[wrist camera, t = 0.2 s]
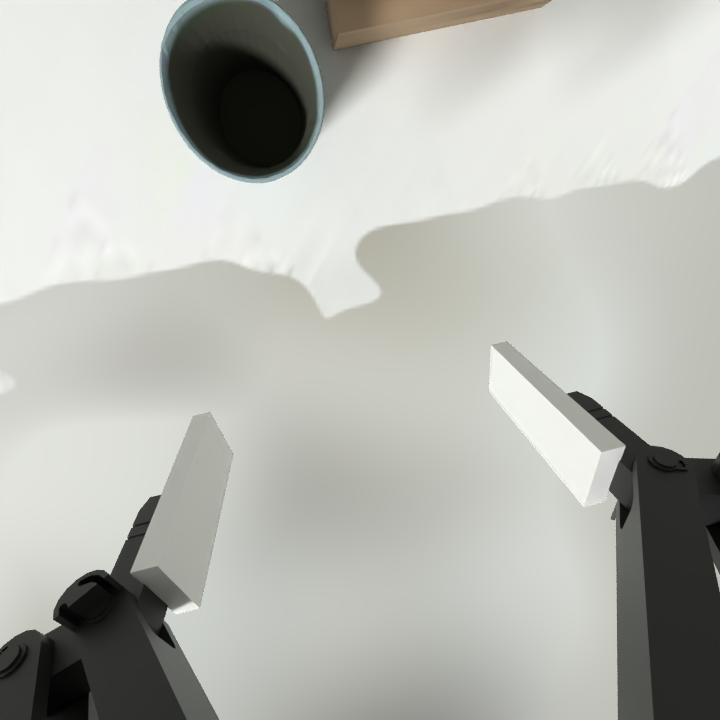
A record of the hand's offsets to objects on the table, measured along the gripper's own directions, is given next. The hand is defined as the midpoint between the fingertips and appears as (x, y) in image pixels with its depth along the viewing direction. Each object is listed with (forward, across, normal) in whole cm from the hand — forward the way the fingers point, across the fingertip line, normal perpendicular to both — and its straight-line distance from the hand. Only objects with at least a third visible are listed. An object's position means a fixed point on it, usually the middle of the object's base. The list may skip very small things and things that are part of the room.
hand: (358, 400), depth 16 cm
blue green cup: (+28, -3, +13) cm, 31 cm away
